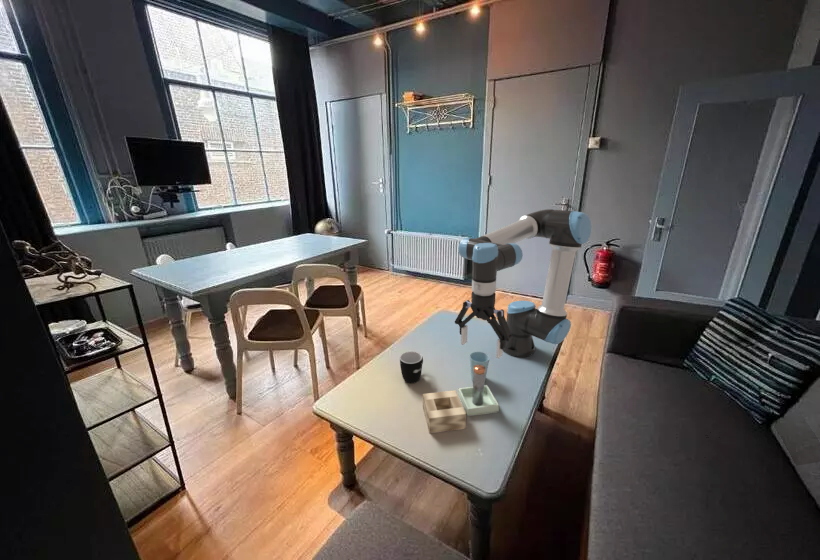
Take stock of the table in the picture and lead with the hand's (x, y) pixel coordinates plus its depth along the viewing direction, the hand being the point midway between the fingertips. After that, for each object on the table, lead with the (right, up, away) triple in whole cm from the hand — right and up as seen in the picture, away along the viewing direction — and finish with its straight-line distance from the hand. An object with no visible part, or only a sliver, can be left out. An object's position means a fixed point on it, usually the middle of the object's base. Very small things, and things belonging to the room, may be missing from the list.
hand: (481, 349), depth 111 cm
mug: (-23, -16, +23) cm, 36 cm away
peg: (0, -20, +7) cm, 22 cm away
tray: (0, -21, +7) cm, 22 cm away
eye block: (-13, -23, 0) cm, 27 cm away
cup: (+3, -16, +21) cm, 27 cm away
